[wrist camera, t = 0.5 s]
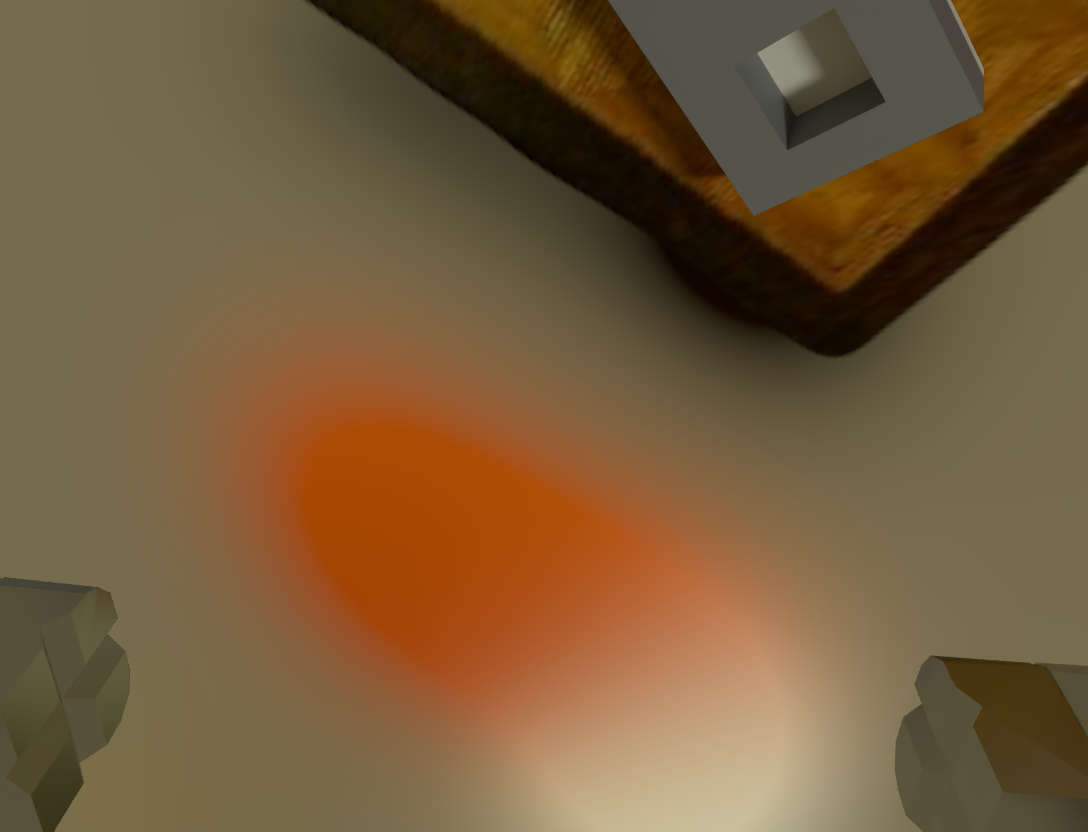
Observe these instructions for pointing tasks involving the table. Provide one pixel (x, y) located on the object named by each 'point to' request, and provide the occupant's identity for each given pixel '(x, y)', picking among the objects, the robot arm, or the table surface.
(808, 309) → the table surface
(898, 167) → the table surface
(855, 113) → the caddy
